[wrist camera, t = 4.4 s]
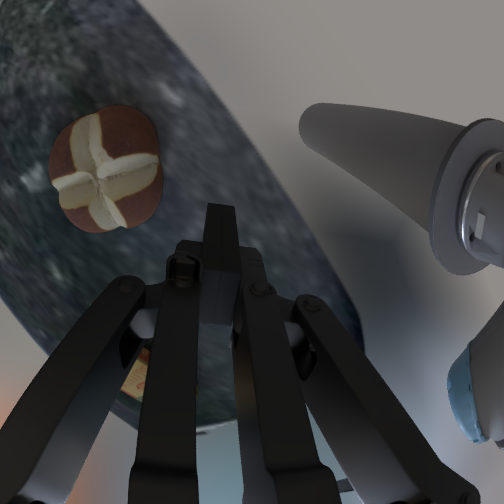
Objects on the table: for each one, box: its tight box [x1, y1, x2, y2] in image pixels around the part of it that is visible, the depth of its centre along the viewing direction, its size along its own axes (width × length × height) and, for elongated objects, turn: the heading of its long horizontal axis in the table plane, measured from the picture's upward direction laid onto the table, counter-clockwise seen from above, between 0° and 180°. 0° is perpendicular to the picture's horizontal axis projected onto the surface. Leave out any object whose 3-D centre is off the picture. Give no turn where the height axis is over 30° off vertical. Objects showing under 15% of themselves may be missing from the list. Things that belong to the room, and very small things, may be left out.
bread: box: [49, 105, 163, 233], centre depth 21 cm, size 11×11×5 cm
